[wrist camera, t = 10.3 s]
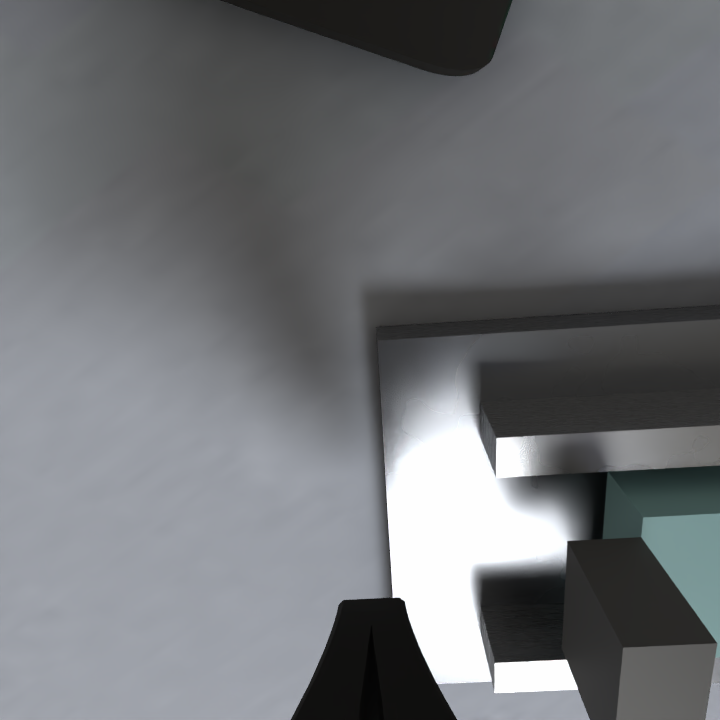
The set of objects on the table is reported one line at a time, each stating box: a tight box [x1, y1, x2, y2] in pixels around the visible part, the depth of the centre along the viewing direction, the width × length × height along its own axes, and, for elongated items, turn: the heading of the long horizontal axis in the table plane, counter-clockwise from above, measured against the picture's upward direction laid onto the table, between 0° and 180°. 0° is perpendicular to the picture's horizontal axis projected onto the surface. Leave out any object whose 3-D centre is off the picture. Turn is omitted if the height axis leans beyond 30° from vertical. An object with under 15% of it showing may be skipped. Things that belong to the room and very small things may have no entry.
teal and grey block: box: [562, 465, 720, 720], centre depth 13 cm, size 6×4×5 cm, turn 94°
